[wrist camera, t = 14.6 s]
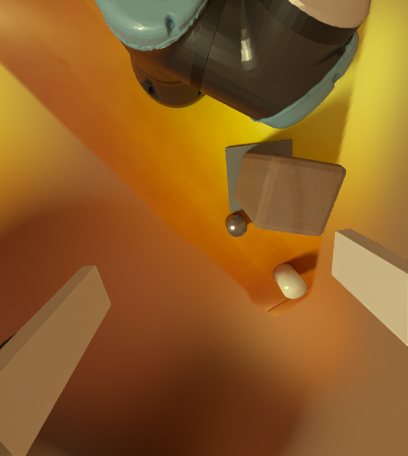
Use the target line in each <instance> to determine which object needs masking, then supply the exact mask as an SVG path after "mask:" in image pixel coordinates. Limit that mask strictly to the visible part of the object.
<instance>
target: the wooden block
mask: <svg viewBox="0 0 408 456" xmlns="http://www.w3.org/2000/svg"><path fill="white" fill-rule="evenodd" d="M345 175H346V169H345V168H344V167H342V166H341V165H338V164H332V163H326V162H320V161H315V160H309V159H303V158H297V157H291V156H285V155H277V154H261V153H245V154H244V155H243V156H242V159H241V164H240V169H239V173H238V178H237V183H236V188H235V193H234V197H235V199H236V200H237V202H238V203H239V204H240V206H241V207H242V208H243V210H244V211H245V213H246V214H247V215H248V217H249V218H250V219H251V221H252V222H253V223H254V225H255V226H256V227H258V228H260V229H266V230H273V231H280V232H288V233H295V234H302V235H309V236H320V235H321V234H322V233H323V231H324V229H325V226H326V224H327V221H328V218H329V216H330V213H331V211H332V208H333V206H334V203H335V201H336V198H337V195H338V193H339V190H340V188H341V185H342V183H343V180H344V177H345Z"/></svg>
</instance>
